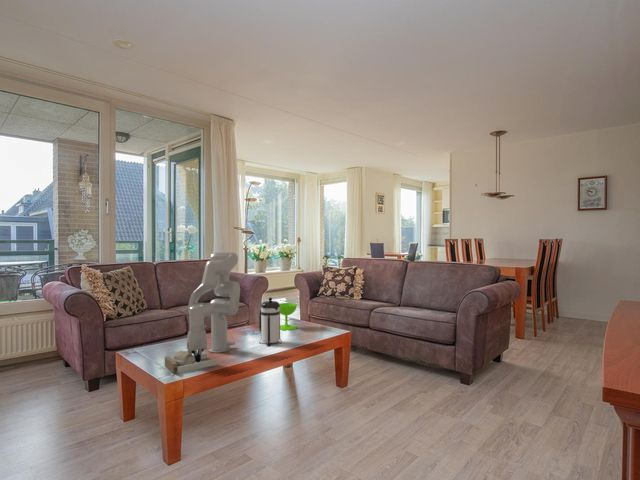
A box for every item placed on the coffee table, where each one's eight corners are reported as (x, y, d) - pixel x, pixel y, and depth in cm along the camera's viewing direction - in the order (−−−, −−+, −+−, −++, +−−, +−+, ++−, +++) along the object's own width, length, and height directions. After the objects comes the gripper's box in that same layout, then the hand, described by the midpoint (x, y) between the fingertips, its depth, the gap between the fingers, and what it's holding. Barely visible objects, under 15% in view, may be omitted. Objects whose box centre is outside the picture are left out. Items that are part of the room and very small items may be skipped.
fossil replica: (194, 370, 198) (195, 365, 208) (195, 353, 199) (197, 350, 209) (169, 369, 196) (172, 365, 206) (171, 353, 197) (174, 349, 206)
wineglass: (280, 331, 279) (280, 307, 279) (272, 327, 293) (272, 304, 293) (300, 329, 286) (300, 305, 286) (291, 325, 301) (291, 302, 301)
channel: (206, 357, 218) (206, 349, 218) (217, 364, 205) (216, 355, 205) (164, 366, 204) (164, 356, 204) (173, 374, 192) (173, 364, 192)
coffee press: (284, 340, 255) (284, 295, 255) (279, 346, 240) (278, 299, 240) (259, 339, 258) (259, 295, 258) (252, 345, 242) (252, 299, 242)
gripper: (207, 324, 214) (208, 356, 215) (180, 329, 205) (181, 363, 205) (212, 327, 208) (213, 360, 209) (185, 332, 199) (186, 366, 200)
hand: (197, 361), depth 207 cm, fingers closed
